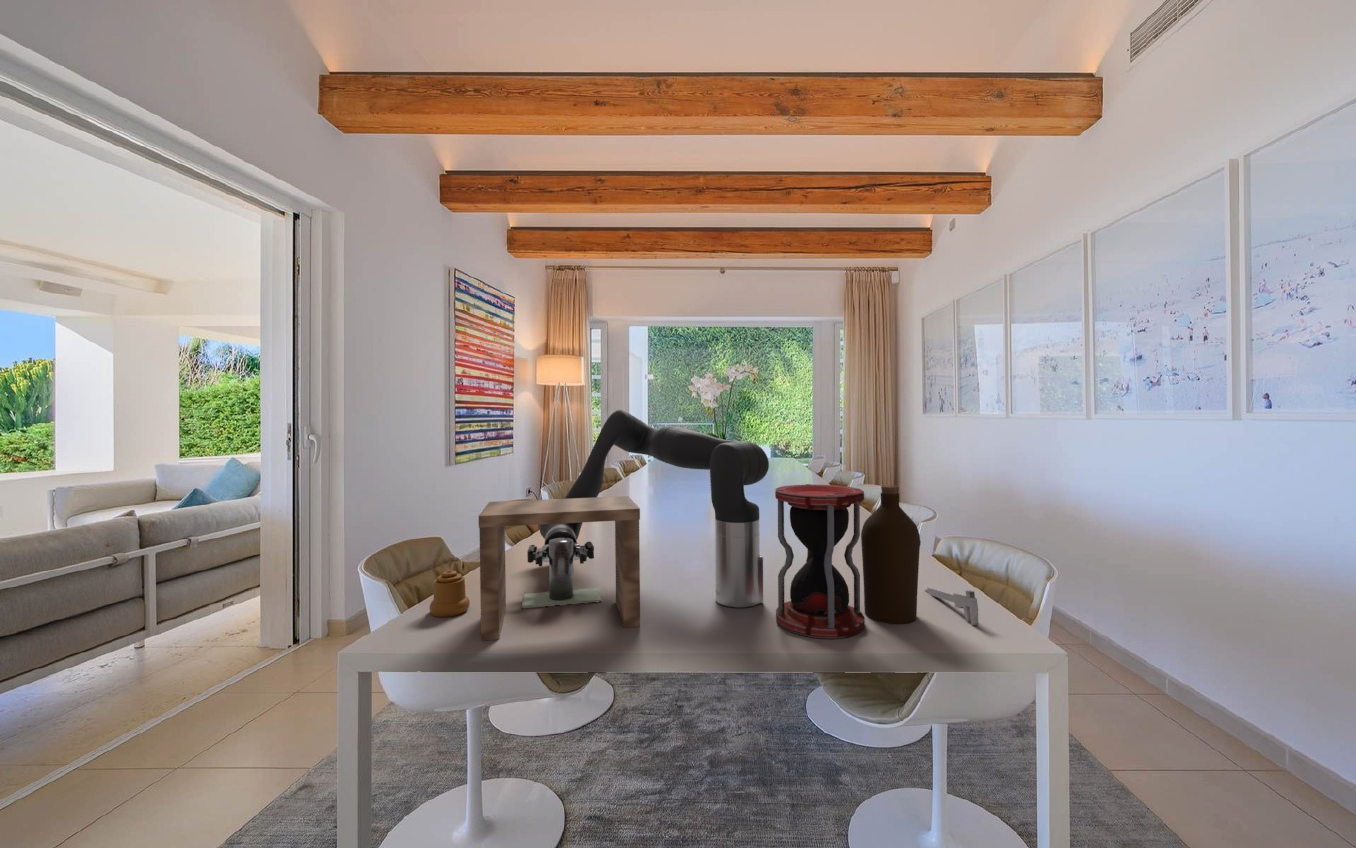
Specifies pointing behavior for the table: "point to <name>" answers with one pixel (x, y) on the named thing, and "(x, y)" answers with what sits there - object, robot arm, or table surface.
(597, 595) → the mat
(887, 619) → the olive oil
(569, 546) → the canister
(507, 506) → the shelf
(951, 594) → the caliper
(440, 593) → the ornamental finial
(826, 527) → the hourglass
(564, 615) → the table surface
